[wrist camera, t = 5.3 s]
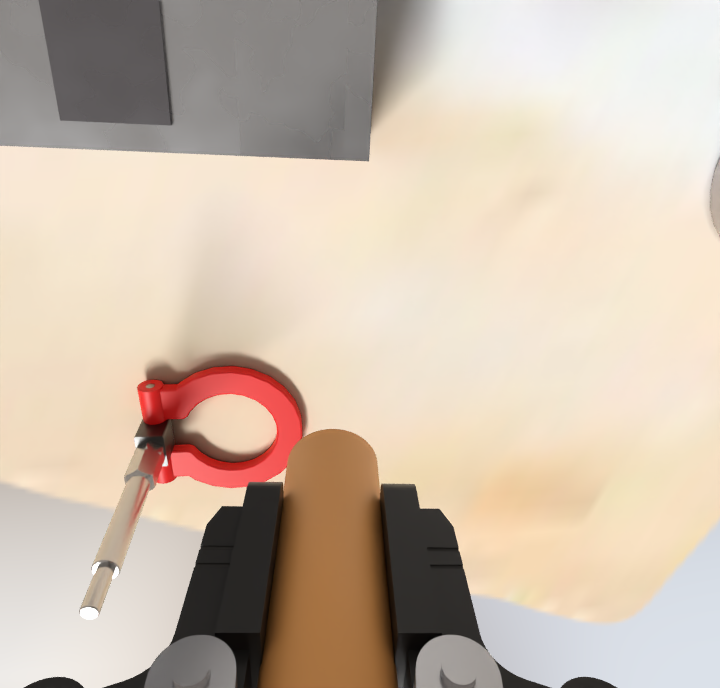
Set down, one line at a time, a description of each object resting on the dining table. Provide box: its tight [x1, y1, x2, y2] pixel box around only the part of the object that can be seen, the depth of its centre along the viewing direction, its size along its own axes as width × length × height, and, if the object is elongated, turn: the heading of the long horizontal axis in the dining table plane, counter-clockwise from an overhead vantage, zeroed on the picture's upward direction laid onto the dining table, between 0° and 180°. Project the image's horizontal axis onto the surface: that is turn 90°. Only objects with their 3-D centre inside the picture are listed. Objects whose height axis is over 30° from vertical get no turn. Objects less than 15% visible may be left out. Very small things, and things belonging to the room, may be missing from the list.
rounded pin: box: [257, 429, 398, 688], centre depth 9 cm, size 2×2×10 cm
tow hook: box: [79, 366, 302, 619], centre depth 28 cm, size 8×13×9 cm
